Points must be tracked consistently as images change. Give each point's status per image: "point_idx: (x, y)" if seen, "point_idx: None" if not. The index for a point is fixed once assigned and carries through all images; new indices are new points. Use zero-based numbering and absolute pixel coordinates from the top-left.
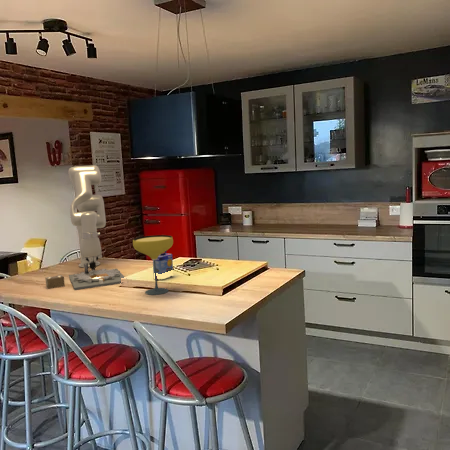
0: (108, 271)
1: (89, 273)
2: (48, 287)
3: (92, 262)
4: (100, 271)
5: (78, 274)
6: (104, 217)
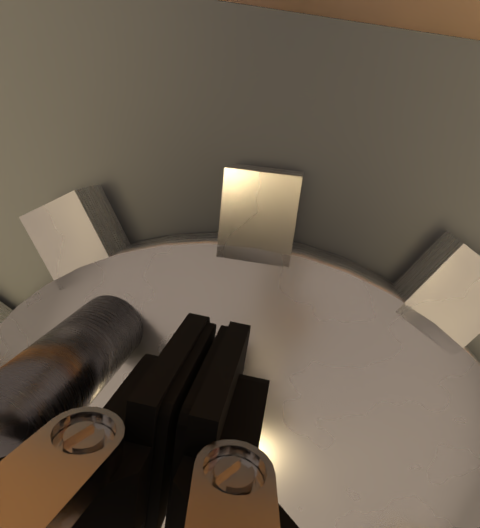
0: (436, 520)
1: None
2: None
3: (171, 474)
4: (334, 415)
5: (41, 50)
6: None
